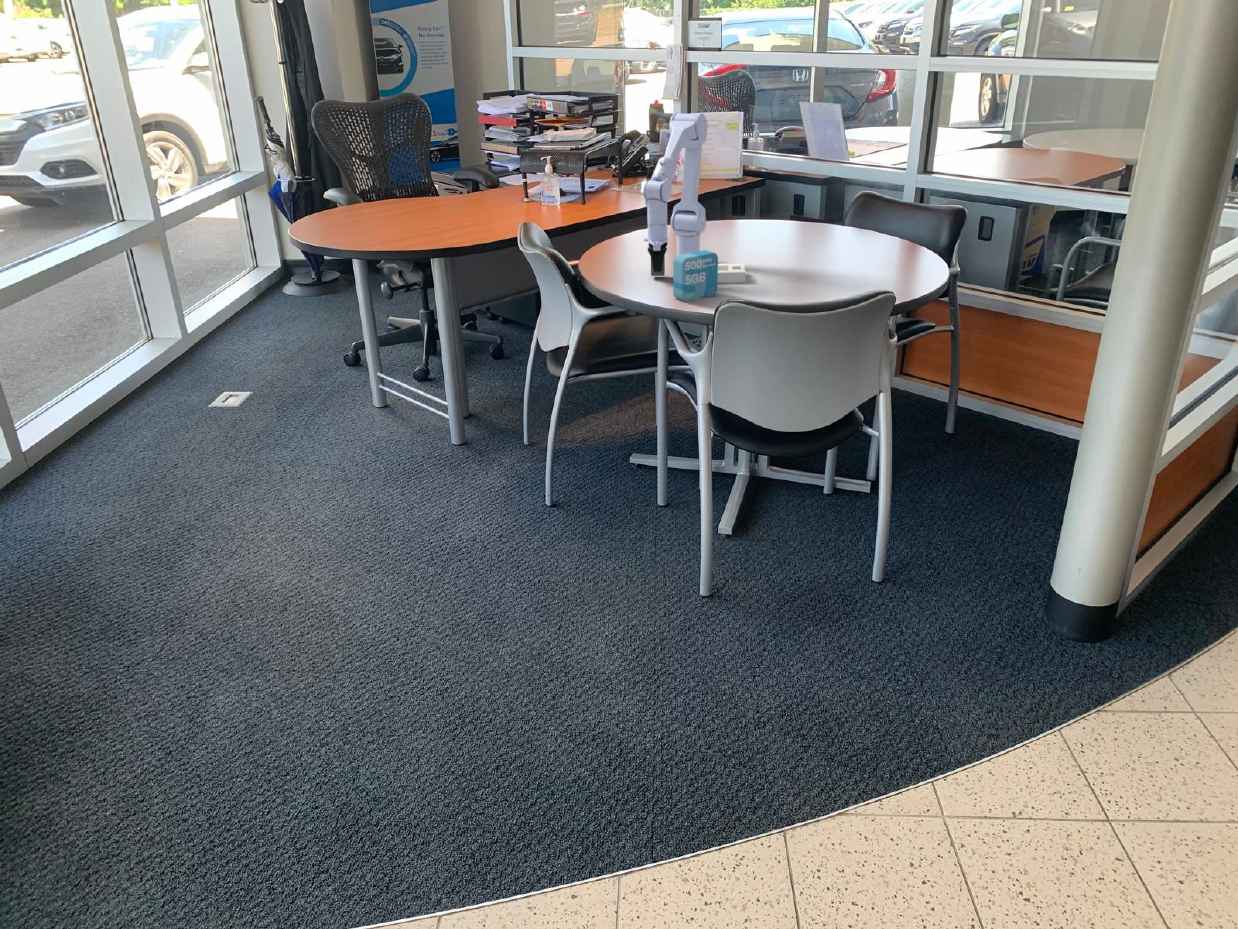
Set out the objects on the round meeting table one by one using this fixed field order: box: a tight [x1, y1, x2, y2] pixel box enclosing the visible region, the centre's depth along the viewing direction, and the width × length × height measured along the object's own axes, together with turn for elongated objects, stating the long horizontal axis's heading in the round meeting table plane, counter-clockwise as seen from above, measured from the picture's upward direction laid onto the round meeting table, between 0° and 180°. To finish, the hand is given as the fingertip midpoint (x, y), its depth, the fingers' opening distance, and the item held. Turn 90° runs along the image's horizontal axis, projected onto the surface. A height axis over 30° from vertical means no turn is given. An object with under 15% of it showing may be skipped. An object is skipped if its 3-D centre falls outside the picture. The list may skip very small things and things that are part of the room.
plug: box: [650, 254, 666, 277], centre depth 269 cm, size 4×4×6 cm
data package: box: [672, 249, 719, 302], centre depth 249 cm, size 12×4×12 cm, turn 122°
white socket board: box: [717, 263, 746, 284], centre depth 268 cm, size 10×18×3 cm, turn 86°
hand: (657, 269), depth 269 cm, fingers closed on plug, 4 cm apart
